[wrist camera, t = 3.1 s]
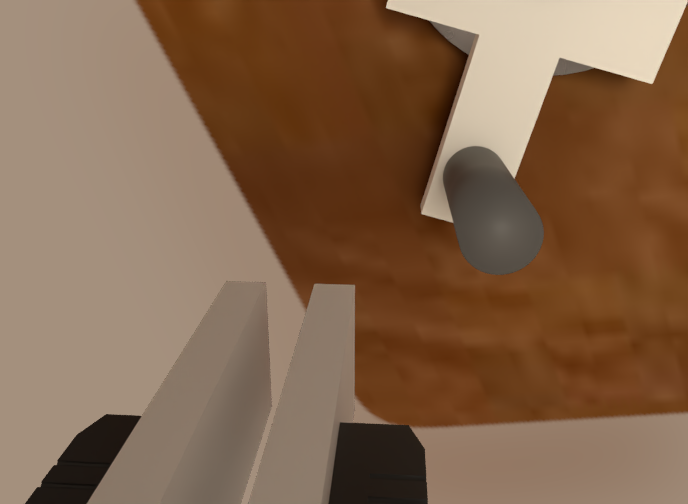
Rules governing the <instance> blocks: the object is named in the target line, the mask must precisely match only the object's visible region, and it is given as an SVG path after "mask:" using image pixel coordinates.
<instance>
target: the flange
mask: <svg viewBox="0 0 688 504" xmlns="http://www.w3.org/2000/svg"><path fill="white" fill-rule="evenodd" d="M687 2H688V0H388V2H387V5H386V8H387V9H391V10H394V11H398V12H401V13H405V14H408V15H412V16H415V17H419V18H422V19H426V20H429V21H433V22H436V23H440V24H443V25H447V26H450V27H454V28H457V29H461V30H465V31H468V32H472V33H475V34H476V35H475V38H474V41H473V44H472V47H471V50H470V53H469V56H468V59H467V63H466V66H465V69H464V72H463V75H462V78H461V81H460V84H459V87H458V90H457V94H456V97H455V100H454V103H453V106H452V109H451V112H450V115H449V118H448V121H447V125H446V128H445V131H444V134H443V137H442V140H441V143H440V146H439V149H438V152H437V156H436V159H435V162H434V165H433V168H432V171H431V174H430V177H429V180H428V183H427V186H426V190H425V193H424V196H423V199H422V202H421V205H420V206H421V214H423V215H427V216H431V217H434V218H438V219H441V220H445V221H448V222H452V223H454V227H455V231H456V235H457V238H458V242H459V246H460V249H461V252H462V254H463V256H464V257H465V259H466V260H467V261H468V262H469V263H470V264H471V265H472V266H473V267H475V268H476V269H478V270H480V271H482V272H485V273H489V274H495V275H503V274H509V273H513V272H515V271H518V270H520V269H522V268H524V267H525V266H526V265H528V264H529V263H530V262H531V261H532V260H533V259H534V258H535V257H536V255H537V254H538V252H539V250H540V248H541V245H542V242H543V235H544V231H543V224H542V221H541V218H540V216H539V215H538V213H537V211H536V210H535V208H534V207H533V205H532V204H531V202H530V201H529V200H528V198H527V197H526V195H525V194H524V192H523V191H522V189H521V188H520V186H519V185H518V183H517V182H516V180H515V179H514V178H515V176H516V173H517V170H518V168H519V165H520V162H521V160H522V157H523V154H524V152H525V149H526V146H527V144H528V141H529V138H530V135H531V133H532V130H533V127H534V125H535V122H536V119H537V117H538V114H539V111H540V109H541V106H542V103H543V101H544V98H545V95H546V93H547V90H548V87H549V85H550V82H551V79H552V76H553V74H554V71H555V68H556V66H557V63H558V60H559V58H563V59H566V60H570V61H573V62H577V63H580V64H584V65H587V66H591V67H594V68H598V69H601V70H605V71H608V72H612V73H615V74H619V75H622V76H626V77H629V78H633V79H636V80H640V81H643V82H647V83H650V84H653V81H654V79H655V77H656V74H657V72H658V70H659V67H660V65H661V63H662V60H663V58H664V56H665V53H666V51H667V49H668V46H669V44H670V42H671V39H672V37H673V35H674V32H675V30H676V28H677V25H678V23H679V21H680V18H681V16H682V14H683V11H684V9H685V7H686V4H687Z"/></svg>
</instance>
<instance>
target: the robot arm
mask: <svg viewBox="0 0 688 504" xmlns="http://www.w3.org/2000/svg"><path fill="white" fill-rule="evenodd" d="M268 338H269V337H268V316H267V295H266V282H235V281H226V283H225V284H224V286H223V287H222V289H221V291H220V292H219V294H218V295H217V297H216V299H215V300H214V302H213V303H212V305H211V307H210V309H209V310H208V311H207V313H206V315H205V316H204V318H203V319H202V321H201V322H200V324H199V326H198V327H197V329H196V330H195V332H194V334H193V335H192V337H191V338H190V340H189V342H188V343H187V345H186V346H185V348H184V350H183V351H182V353H181V354H180V356H179V358H178V359H177V361H176V362H175V364H174V365H173V367H172V369H171V370H170V372H169V373H168V375H167V377H166V378H165V380H164V381H163V383H162V385H161V386H160V388H159V389H158V391H157V393H156V394H155V396H154V397H153V399H152V401H151V402H150V404H149V405H148V407H147V409H146V410H145V412H144V413H143V415H142V416H132V415H109V414H106V415H104V416H103V417H102V418H100V419H99V420H97V421H96V422H94V423H93V424H92V425H90V426H89V427H88V428H86V429H85V430H83V431H82V432H80V433H79V434H77V435H76V437H75V438H74V439H73V441H72V442H71V443H70V445H69V446H68V447H67V449H66V450H65V451H64V453H63V454H62V455H61V457H60V458H59V459H58V463H57V465H54V466H53V467H52V468H51V470H50V471H49V472H48V474H47V475H46V477H45V478H44V479H43V480H42V484H41V487H37V488H36V490H35V491H34V492H33V494H32V495H31V496H30V498H29V499H28V501H27V502H26V503H25V504H241V502H242V499H243V495H244V492H245V489H246V485H247V483H248V480H249V476H250V473H251V470H252V467H253V464H254V461H255V457H256V454H257V451H258V448H259V445H260V442H261V439H262V435H263V432H264V429H265V426H266V423H267V420H268V416H269V413H270V410H271V407H272V401H271V400H272V398H271V378H270V358H269V339H268ZM354 388H355V285H338V284H314V287H313V291H312V294H311V297H310V301H309V304H308V307H307V311H306V314H305V317H304V321H303V324H302V327H301V331H300V334H299V337H298V341H297V344H296V347H295V350H294V354H293V357H292V360H291V363H290V367H289V370H288V373H287V377H286V380H285V383H284V387H283V390H282V394H281V397H280V400H279V403H278V407H277V410H276V413H275V417H274V420H273V424H272V426H271V430H270V433H269V436H268V440H267V443H266V446H265V450H264V453H263V456H262V459H261V463H260V466H259V470H258V473H257V476H256V480H255V483H254V486H253V489H252V493H251V496H250V499H249V503H248V504H428V503H427V502H428V501H427V500H428V498H427V482H426V465H425V449H424V447H423V446H422V445H421V443H420V441H419V440H418V439H417V437H416V436H415V434H414V433H413V431H412V430H411V428H410V427H409V425H388V424H365V423H353V418H354Z"/></svg>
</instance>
